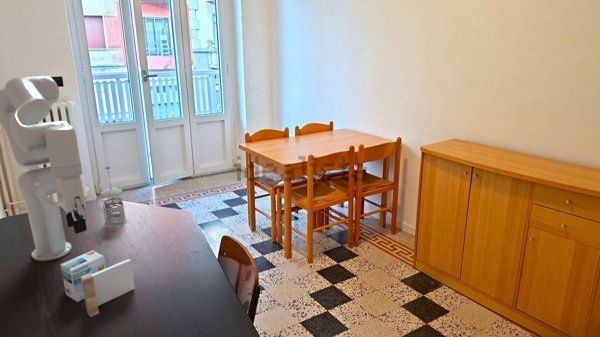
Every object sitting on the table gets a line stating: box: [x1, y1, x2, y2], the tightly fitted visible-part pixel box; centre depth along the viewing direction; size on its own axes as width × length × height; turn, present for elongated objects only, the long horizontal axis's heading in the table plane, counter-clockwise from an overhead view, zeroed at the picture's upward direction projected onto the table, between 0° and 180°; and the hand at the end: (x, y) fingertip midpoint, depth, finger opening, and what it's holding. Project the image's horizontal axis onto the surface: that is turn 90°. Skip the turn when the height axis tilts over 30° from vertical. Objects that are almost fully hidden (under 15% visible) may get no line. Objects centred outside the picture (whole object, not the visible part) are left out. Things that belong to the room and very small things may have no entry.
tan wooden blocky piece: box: [81, 273, 100, 318], centre depth 124 cm, size 20×2×12 cm, turn 44°
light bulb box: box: [60, 249, 107, 303], centre depth 129 cm, size 11×7×11 cm, turn 146°
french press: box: [95, 165, 129, 229], centre depth 173 cm, size 10×12×25 cm
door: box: [91, 258, 136, 307], centre depth 125 cm, size 14×1×10 cm, turn 139°
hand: (77, 228), depth 124 cm, fingers open, 5 cm apart
